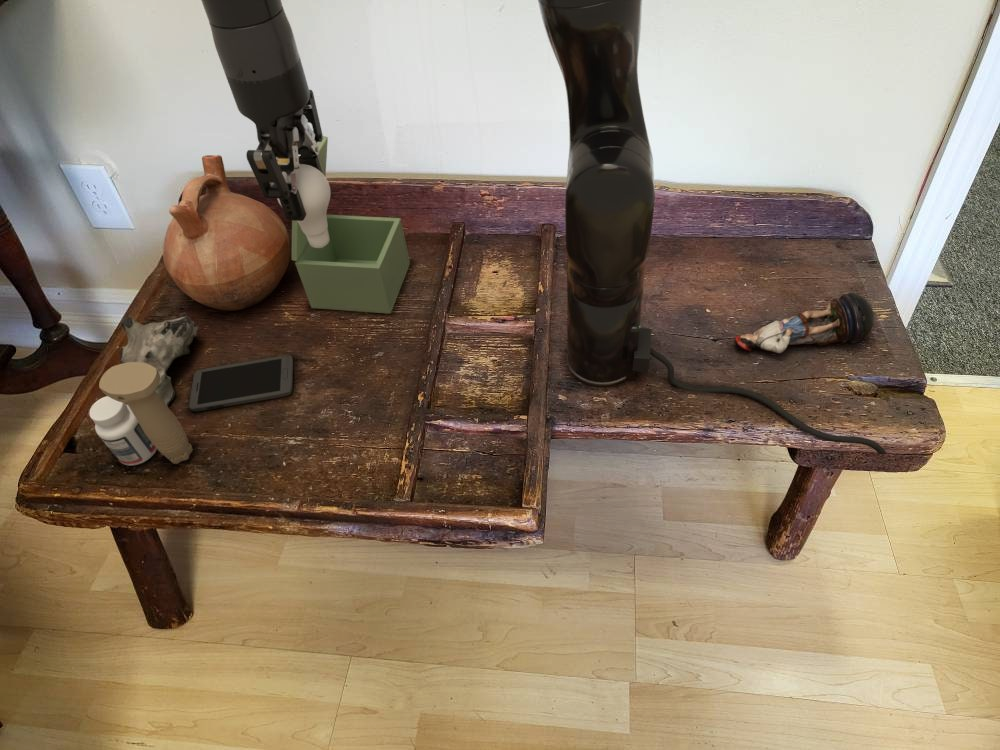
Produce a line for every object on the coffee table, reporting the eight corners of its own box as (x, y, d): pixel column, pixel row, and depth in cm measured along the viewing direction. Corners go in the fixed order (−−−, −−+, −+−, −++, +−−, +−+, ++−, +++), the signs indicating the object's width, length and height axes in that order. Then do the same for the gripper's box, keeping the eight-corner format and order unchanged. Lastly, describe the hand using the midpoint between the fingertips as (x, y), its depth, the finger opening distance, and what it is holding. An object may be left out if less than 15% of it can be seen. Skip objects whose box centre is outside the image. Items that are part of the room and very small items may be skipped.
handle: (196, 471, 92) (144, 395, 81) (149, 468, 93) (91, 392, 82) (211, 441, 95) (163, 363, 84) (165, 438, 96) (112, 360, 85)
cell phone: (293, 395, 99) (291, 392, 99) (189, 413, 98) (187, 409, 98) (294, 357, 104) (292, 353, 103) (195, 373, 103) (193, 370, 103)
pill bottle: (145, 427, 97) (114, 384, 91) (167, 446, 95) (137, 403, 88) (110, 453, 95) (75, 410, 88) (131, 473, 93) (97, 431, 86)
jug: (276, 330, 108) (229, 219, 93) (165, 323, 111) (102, 215, 96) (316, 251, 120) (280, 141, 105) (214, 246, 123) (165, 139, 108)
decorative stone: (185, 407, 98) (137, 357, 91) (129, 419, 100) (78, 370, 94) (221, 327, 109) (180, 276, 102) (170, 339, 111) (127, 290, 105)
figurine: (886, 308, 91) (738, 327, 94) (881, 352, 95) (738, 369, 98) (865, 280, 98) (726, 298, 100) (860, 323, 101) (727, 340, 104)
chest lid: (327, 137, 101) (291, 125, 101) (298, 185, 94) (259, 173, 93) (323, 212, 111) (290, 202, 111) (296, 261, 104) (261, 251, 104)
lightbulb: (347, 228, 92) (325, 151, 84) (343, 259, 88) (319, 181, 80) (299, 233, 92) (273, 156, 84) (293, 264, 88) (264, 186, 80)
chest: (410, 263, 116) (400, 218, 110) (390, 313, 109) (379, 268, 102) (335, 259, 118) (321, 214, 112) (311, 308, 111) (294, 263, 104)
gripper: (270, 96, 67) (317, 241, 80) (319, 27, 77) (355, 167, 89) (195, 95, 69) (253, 238, 81) (252, 28, 78) (297, 165, 90)
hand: (306, 200), depth 85 cm, fingers closed on lightbulb, 6 cm apart
